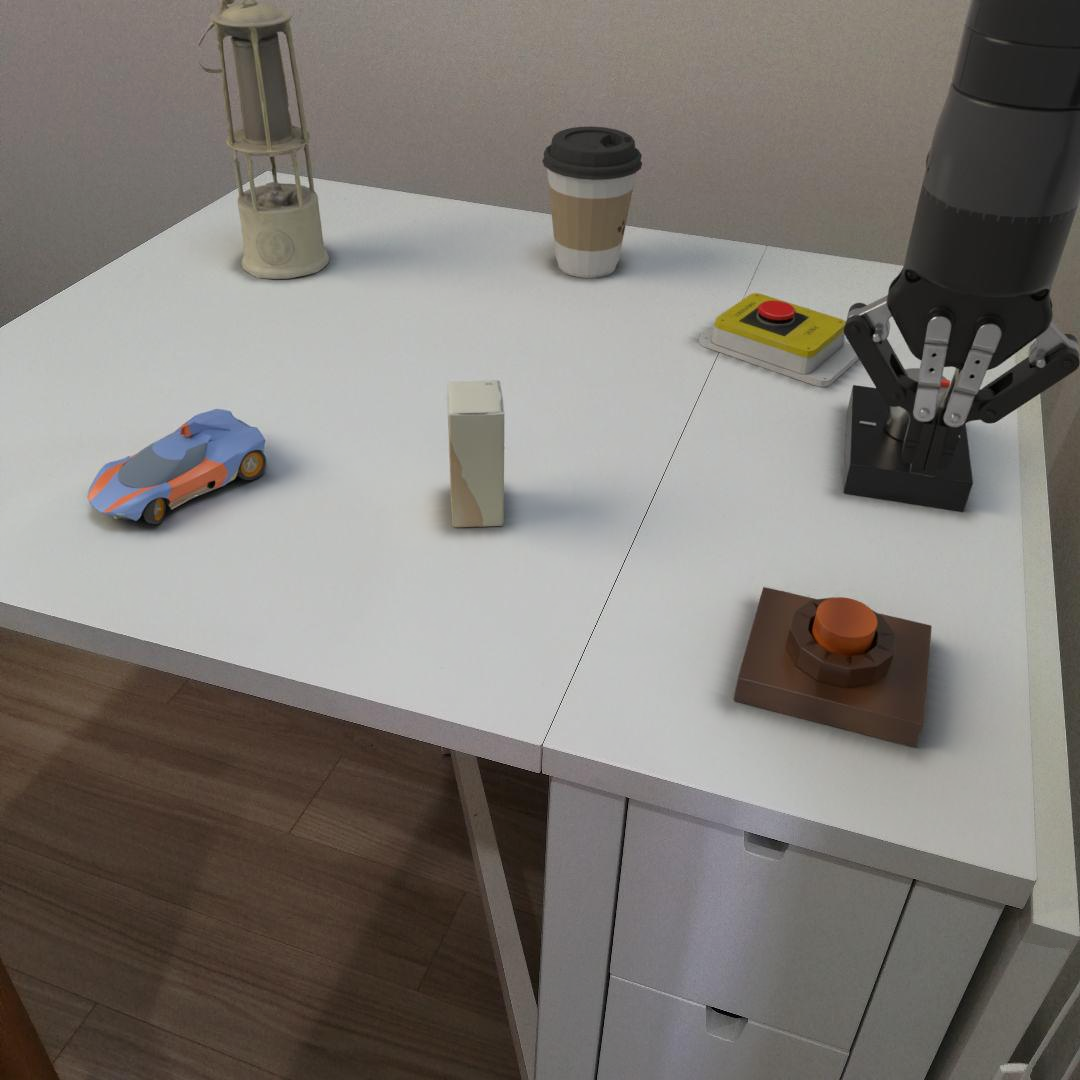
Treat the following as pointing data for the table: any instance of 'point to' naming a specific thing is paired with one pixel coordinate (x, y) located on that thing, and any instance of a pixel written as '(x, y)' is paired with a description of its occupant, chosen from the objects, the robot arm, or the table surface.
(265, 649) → the table surface
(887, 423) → the hob knob
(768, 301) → the emergency button
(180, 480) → the toy car
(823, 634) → the button
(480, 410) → the box
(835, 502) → the table surface
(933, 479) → the panel
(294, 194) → the lamp
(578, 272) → the coffee cup
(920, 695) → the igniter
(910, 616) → the table surface
